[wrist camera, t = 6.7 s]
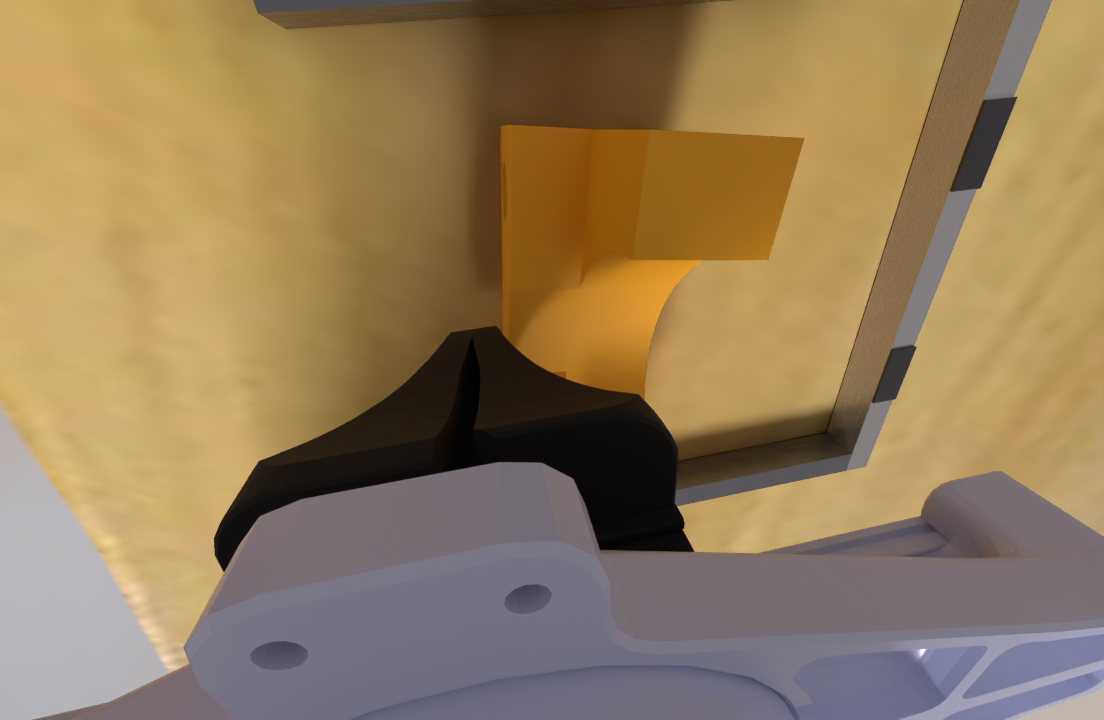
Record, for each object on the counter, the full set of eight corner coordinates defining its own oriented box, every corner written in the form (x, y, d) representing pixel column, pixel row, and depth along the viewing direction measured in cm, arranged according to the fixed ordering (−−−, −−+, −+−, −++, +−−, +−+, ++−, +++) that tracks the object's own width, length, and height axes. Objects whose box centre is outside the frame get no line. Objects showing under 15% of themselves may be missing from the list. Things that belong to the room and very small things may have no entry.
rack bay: (840, 444, 20) (867, 467, 19) (443, 524, 18) (441, 557, 17) (1016, -66, 11) (1094, -94, 10) (267, -30, 9) (231, -58, 8)
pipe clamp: (499, 125, 11) (531, 123, 6) (649, 133, 12) (804, 138, 7) (504, 460, 17) (522, 620, 12) (605, 451, 18) (667, 597, 12)
